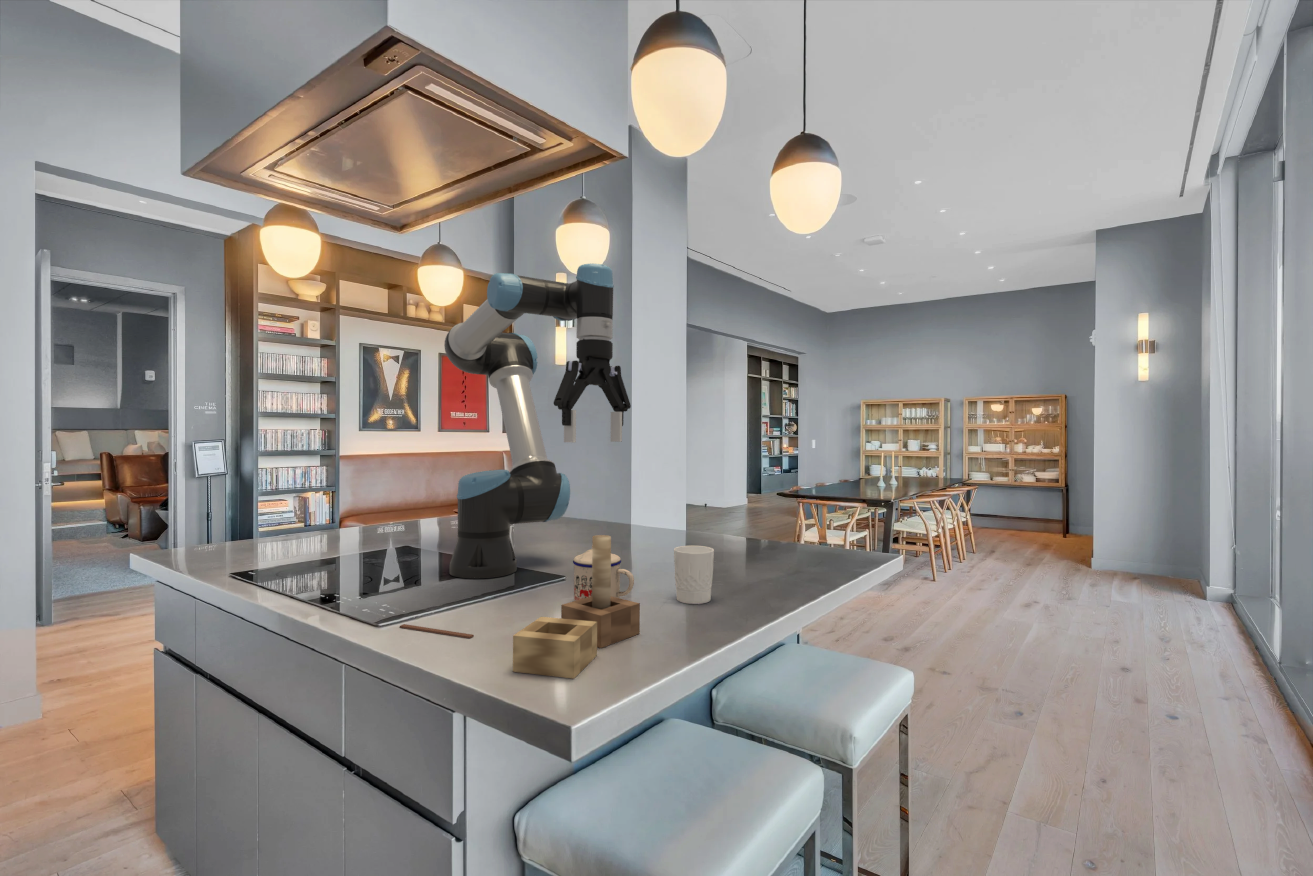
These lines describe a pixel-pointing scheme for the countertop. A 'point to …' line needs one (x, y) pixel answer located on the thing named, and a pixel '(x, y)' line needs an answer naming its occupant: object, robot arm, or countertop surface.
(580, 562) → the teacup with lid
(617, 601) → the bead dark
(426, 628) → the brown wooden stick
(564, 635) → the light wooden square frame
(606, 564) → the beige wooden dowel
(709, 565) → the white cup
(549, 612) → the countertop surface
